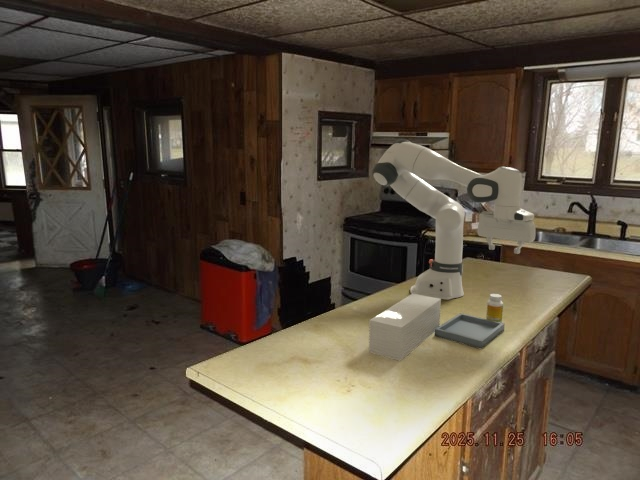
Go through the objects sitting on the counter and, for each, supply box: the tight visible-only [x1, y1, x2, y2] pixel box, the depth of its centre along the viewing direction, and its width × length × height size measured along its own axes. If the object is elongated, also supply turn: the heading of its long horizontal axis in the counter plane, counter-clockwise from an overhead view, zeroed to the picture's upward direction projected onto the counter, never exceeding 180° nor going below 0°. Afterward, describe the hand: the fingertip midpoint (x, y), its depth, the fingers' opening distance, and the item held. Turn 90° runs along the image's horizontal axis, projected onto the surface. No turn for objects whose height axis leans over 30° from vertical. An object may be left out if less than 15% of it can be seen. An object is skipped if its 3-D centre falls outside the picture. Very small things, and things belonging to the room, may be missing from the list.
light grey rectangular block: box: [368, 293, 442, 362], centre depth 156 cm, size 32×11×11 cm, turn 146°
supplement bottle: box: [485, 293, 504, 323], centre depth 172 cm, size 5×5×10 cm
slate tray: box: [434, 312, 505, 350], centre depth 162 cm, size 20×16×2 cm
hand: (504, 251), depth 172 cm, fingers open, 8 cm apart
